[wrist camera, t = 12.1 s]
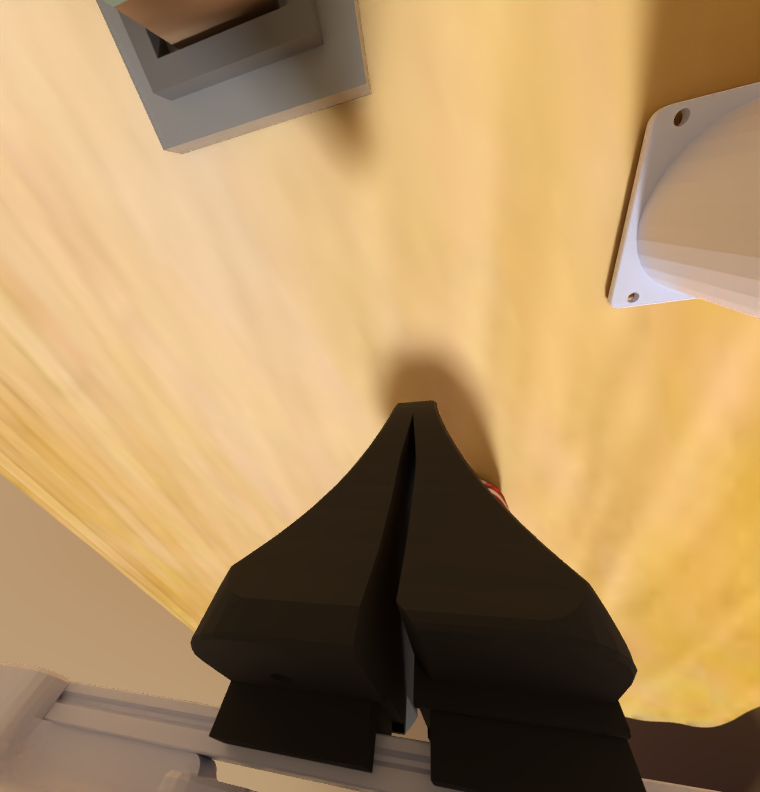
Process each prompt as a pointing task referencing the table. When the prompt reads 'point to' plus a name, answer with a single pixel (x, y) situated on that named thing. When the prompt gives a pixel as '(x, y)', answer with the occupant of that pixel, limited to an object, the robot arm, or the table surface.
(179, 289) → the table surface
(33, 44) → the table surface
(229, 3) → the block stack
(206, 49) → the socket board
